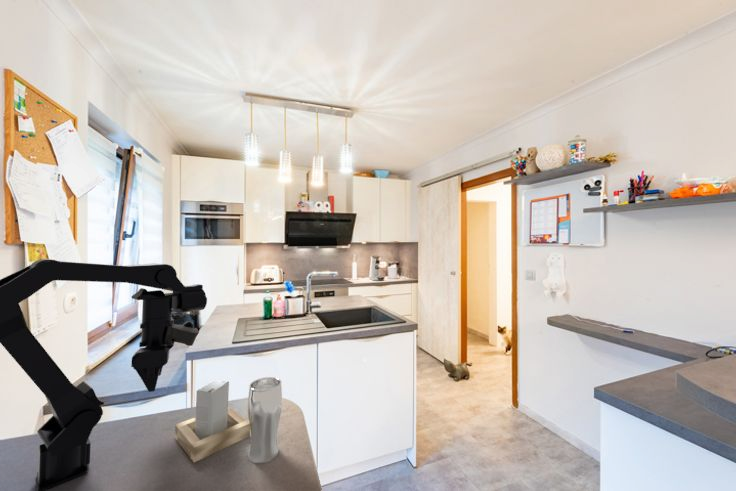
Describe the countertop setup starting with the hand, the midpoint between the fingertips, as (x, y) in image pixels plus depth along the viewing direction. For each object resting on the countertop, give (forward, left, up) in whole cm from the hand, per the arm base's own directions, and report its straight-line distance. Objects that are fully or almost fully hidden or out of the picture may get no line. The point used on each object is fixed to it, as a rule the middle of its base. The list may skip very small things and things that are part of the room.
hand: (155, 383), depth 70 cm
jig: (+9, -11, -12) cm, 19 cm away
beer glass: (+14, -25, -12) cm, 31 cm away
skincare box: (+9, -11, -12) cm, 19 cm away
